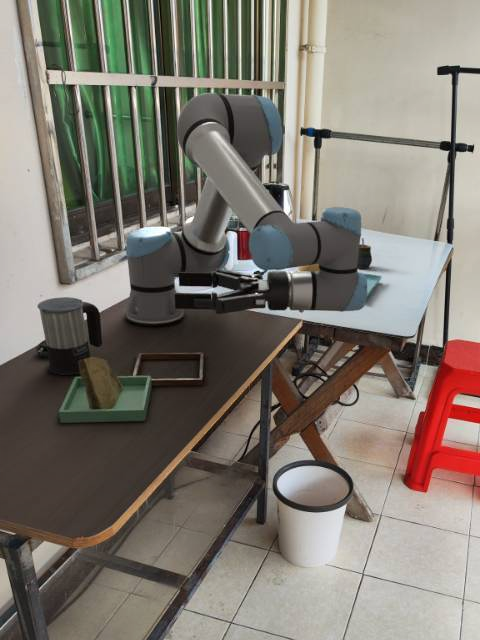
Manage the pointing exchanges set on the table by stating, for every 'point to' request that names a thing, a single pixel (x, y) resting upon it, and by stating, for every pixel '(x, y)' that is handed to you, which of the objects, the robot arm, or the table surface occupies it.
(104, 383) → the rock
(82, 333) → the milk frother
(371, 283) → the rectangular tray
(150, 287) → the robot arm
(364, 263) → the mate gourd
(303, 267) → the potato
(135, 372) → the wooden frame
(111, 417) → the green tray
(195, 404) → the table surface
